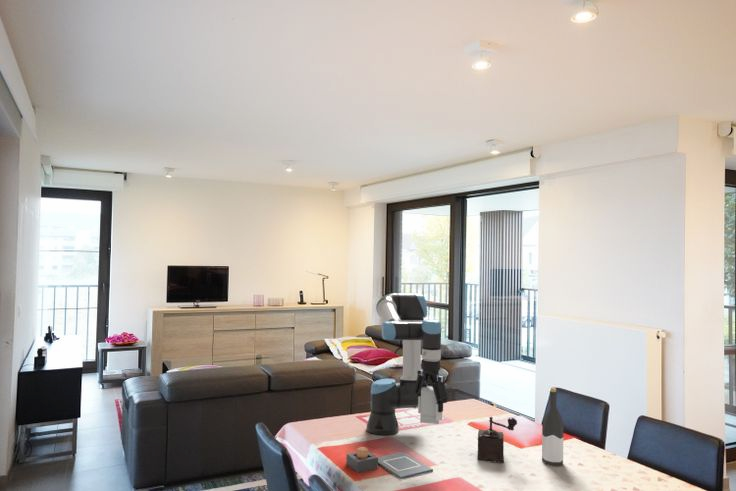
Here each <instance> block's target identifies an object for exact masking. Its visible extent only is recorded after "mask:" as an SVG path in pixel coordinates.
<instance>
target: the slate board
mask: <svg viewBox="0 0 736 491" xmlns="http://www.w3.org/2000/svg"><path fill="white" fill-rule="evenodd" d="M377 457H378V466H380V467H382V468H383V469H385V470H386V471H388V472H389V473H390V474H391V475H393V476H396V478H397V479H399V480H403V479H407V478H410V477H414V476H415V477H417V476H419V475H423V474H429V473H430V472H431V473H432V472H433V471H434V469H433V468H431V467H430V466H429V465H427V464H425V463H423V462H422V461H420V460H418V459H416V458H414V457H412V456H411V455H409V454H407V453H406V452H404V451H401V452H396V453H391V454H388V455H387V454H386V455H382V456H377Z"/></svg>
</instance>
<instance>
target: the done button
mask: <svg viewBox="0 0 736 491" xmlns="http://www.w3.org/2000/svg"><path fill="white" fill-rule="evenodd" d="M368 451H369V449H368V447H365V446H361V447H357V448H356V452H357V458H358V459H364V458H368Z"/></svg>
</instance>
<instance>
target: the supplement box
mask: <svg viewBox="0 0 736 491" xmlns="http://www.w3.org/2000/svg"><path fill="white" fill-rule="evenodd" d="M436 403H437V400H436V396H435V393H434V390H433V387H432V386H429V385H428V386H426V387H422V389H421V413H419V414H420V415H419V416H420V417H419V418H420V419H419V422H420V423H421V424H431V425H439V423H440V422H439V421H440V420H438V421H436V420H435V418H436Z"/></svg>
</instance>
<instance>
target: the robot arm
mask: <svg viewBox="0 0 736 491" xmlns="http://www.w3.org/2000/svg"><path fill="white" fill-rule="evenodd" d="M375 310H376V312H377V315H378V316H379V317H380V318H381V320H382V323H381V338H382V339H383V340H384V341H385V340H386V341H402V375H401V377H399V381H398V382H397V380H396V379H394V378H381V379H377V380H375V381H373V382H372V384H371V386H370V387H371V388H370V414H369V416H368V420H367V423H366V432H368V433H370V434H373V435H376V436H377V435H378V436H391V435H395V434H397V433H398V432H399V431H400V430H399V428H400V427H399V426H400V425H399V422H398V419H397V416H396V409H417V412H418V414H420V413H421V389H422V387H426V386H429V384H430V387H433V390H434V393H435V396H436V400H437V403H436V418H435V420H436V421H438V420H439V421H442V420H443V412H444V404H446V403H448V397H447V392H446V391H447V390H446V385H445V378H446V377H445V376H443V375H442V376H441V375H440V374H439V373H440V372H439V371H440V370H441V364H442V363H441V358H442V323H441V322H442V321H440V320H438V319H425V318H427V317H428V316H427V315H428V306H427V301H426V297H425V296H424V295H423V293H422V294H421V293H417V292H416V293H415V292H410V293H409V292H408V293H407V292H402V293H401V292H399V293H398V292H397V293H396V292H392V293H387V294H385V295H383V296H382V297H381V298H379V300H377V303H376V306H375Z"/></svg>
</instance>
